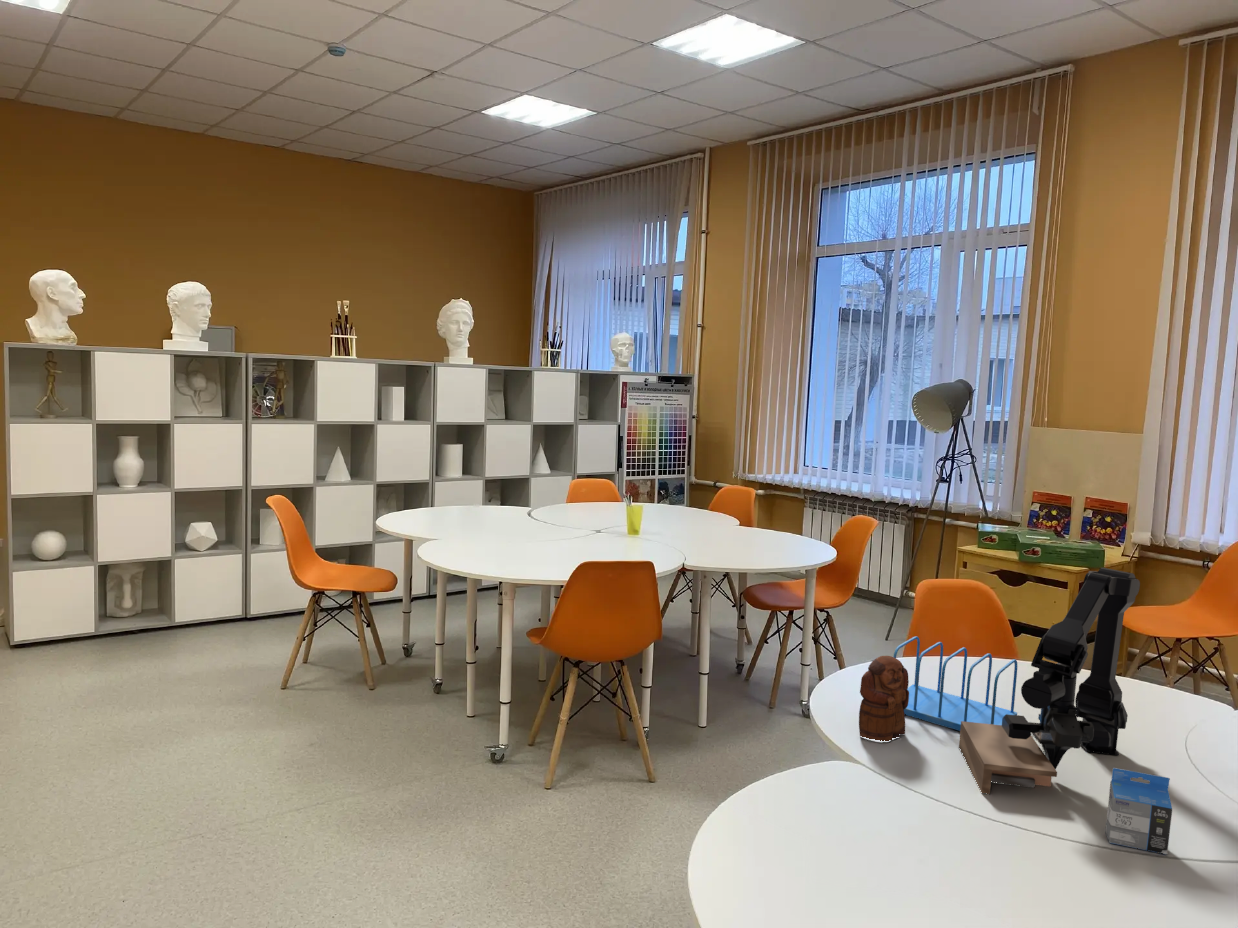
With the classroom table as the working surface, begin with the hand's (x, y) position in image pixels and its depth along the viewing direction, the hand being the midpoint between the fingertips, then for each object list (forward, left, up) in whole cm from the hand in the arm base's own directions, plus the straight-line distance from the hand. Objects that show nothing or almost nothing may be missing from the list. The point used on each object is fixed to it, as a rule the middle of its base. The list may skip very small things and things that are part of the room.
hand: (1051, 770), depth 169 cm
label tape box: (-7, +22, -2) cm, 23 cm away
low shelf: (+9, 0, -2) cm, 9 cm away
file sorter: (+14, -29, -2) cm, 32 cm away
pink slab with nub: (+7, 0, -2) cm, 7 cm away
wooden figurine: (+31, -12, -2) cm, 33 cm away
